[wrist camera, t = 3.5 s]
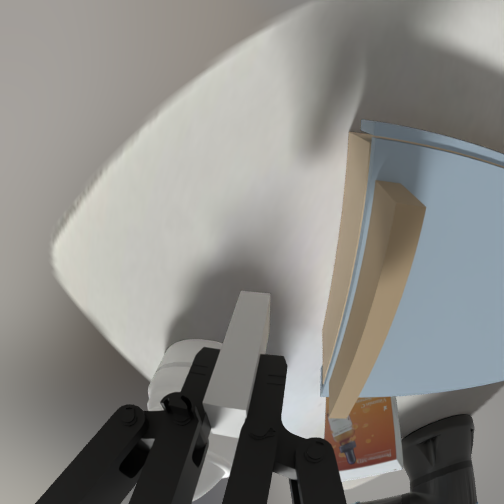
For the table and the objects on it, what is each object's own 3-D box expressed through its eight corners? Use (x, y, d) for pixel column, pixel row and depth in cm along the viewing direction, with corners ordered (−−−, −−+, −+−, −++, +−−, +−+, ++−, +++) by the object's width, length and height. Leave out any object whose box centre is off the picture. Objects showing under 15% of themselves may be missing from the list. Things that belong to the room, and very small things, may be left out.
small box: (388, 376, 27) (399, 458, 18) (396, 397, 28) (404, 469, 19) (324, 394, 30) (320, 474, 21) (338, 413, 32) (336, 483, 22)
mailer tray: (499, 329, 21) (519, 367, 16) (322, 330, 24) (322, 383, 19) (553, 186, 13) (592, 211, 8) (348, 131, 16) (369, 142, 11)
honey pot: (145, 356, 32) (83, 476, 16) (215, 322, 26) (145, 502, 11) (215, 409, 35) (180, 519, 20) (291, 389, 30) (269, 534, 14)
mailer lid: (507, 358, 18) (525, 401, 13) (320, 369, 22) (318, 432, 16) (580, 190, 9) (622, 221, 4) (361, 119, 12) (399, 127, 7)
